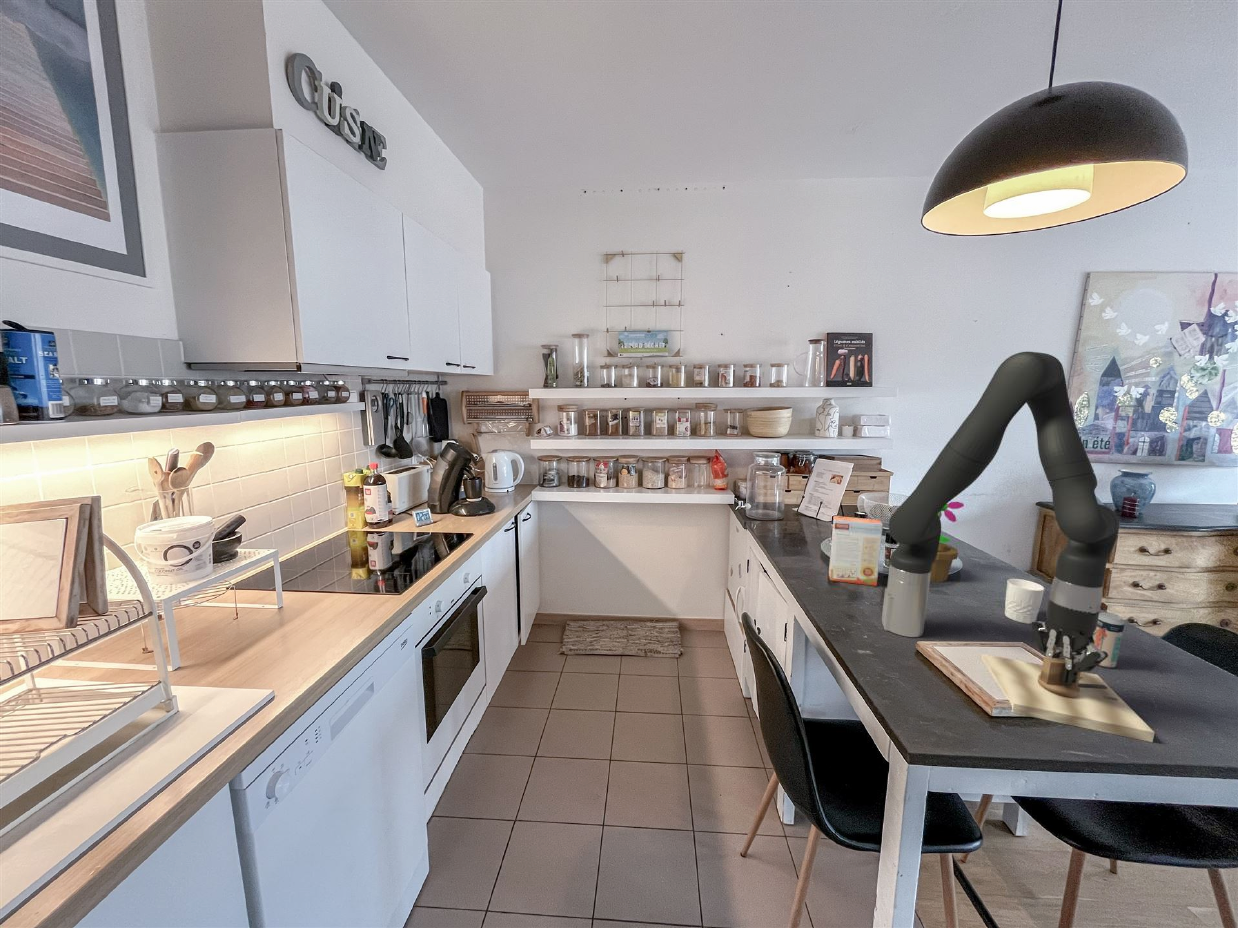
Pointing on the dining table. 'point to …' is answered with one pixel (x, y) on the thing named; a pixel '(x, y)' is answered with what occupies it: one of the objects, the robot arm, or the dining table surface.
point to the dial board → (1066, 700)
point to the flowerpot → (945, 549)
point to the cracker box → (855, 550)
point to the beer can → (1109, 636)
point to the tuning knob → (1053, 676)
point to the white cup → (1023, 600)
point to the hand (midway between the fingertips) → (1059, 679)
